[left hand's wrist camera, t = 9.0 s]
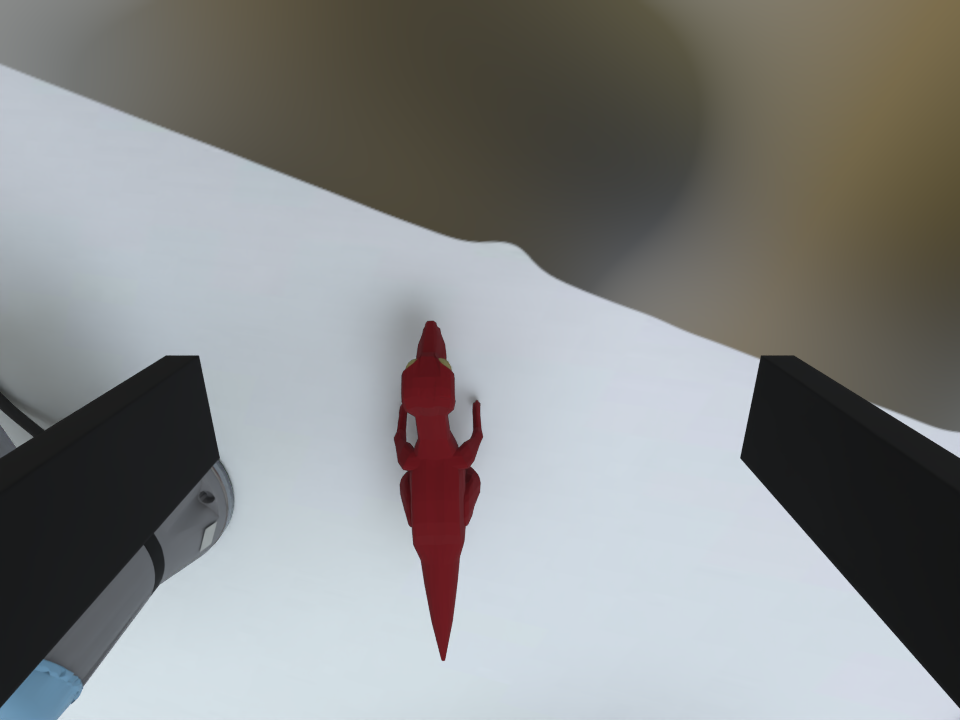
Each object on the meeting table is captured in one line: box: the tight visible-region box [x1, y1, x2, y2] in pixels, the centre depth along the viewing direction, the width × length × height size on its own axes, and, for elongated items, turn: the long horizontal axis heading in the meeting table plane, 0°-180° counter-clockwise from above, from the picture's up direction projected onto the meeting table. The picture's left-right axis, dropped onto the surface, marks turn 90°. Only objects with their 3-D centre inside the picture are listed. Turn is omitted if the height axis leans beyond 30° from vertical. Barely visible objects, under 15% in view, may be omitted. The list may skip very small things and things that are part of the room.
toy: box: [394, 321, 483, 661], centre depth 41 cm, size 7×25×15 cm
